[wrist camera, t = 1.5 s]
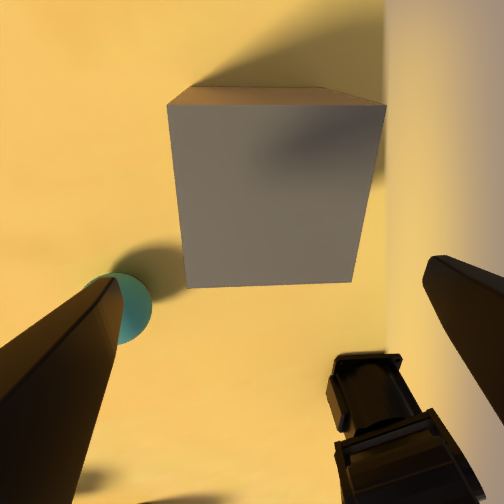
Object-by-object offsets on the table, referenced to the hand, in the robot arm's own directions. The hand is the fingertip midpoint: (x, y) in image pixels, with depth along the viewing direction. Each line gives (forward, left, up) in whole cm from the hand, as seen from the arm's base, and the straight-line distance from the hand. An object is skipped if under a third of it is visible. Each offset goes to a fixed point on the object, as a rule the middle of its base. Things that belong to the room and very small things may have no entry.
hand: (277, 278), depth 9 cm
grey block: (-1, 0, -13) cm, 13 cm away
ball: (+9, +10, -11) cm, 17 cm away
